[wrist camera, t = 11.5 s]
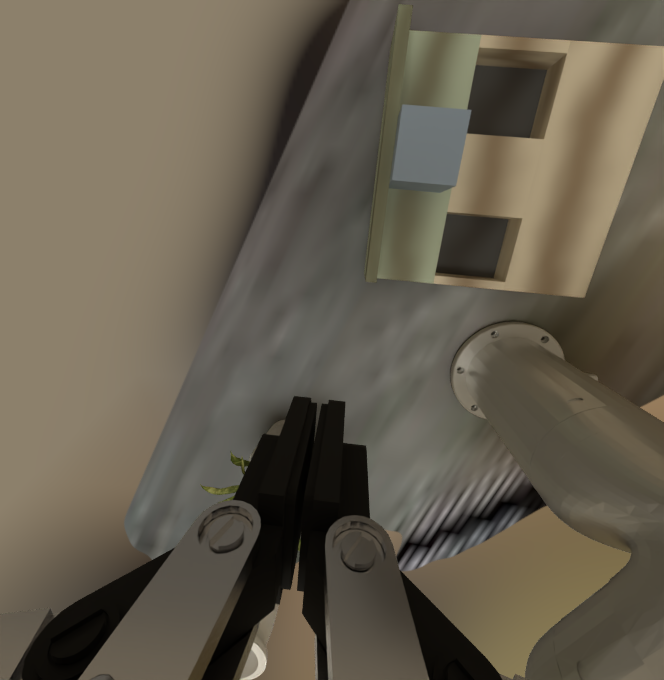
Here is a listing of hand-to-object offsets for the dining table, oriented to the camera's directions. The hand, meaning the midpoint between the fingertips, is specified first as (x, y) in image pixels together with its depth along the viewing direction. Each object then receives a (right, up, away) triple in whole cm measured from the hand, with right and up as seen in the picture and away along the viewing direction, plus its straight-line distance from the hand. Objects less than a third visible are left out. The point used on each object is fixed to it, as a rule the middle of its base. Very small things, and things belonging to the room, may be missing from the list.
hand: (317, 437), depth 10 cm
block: (+8, +20, +18) cm, 28 cm away
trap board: (+16, +19, +21) cm, 32 cm away
